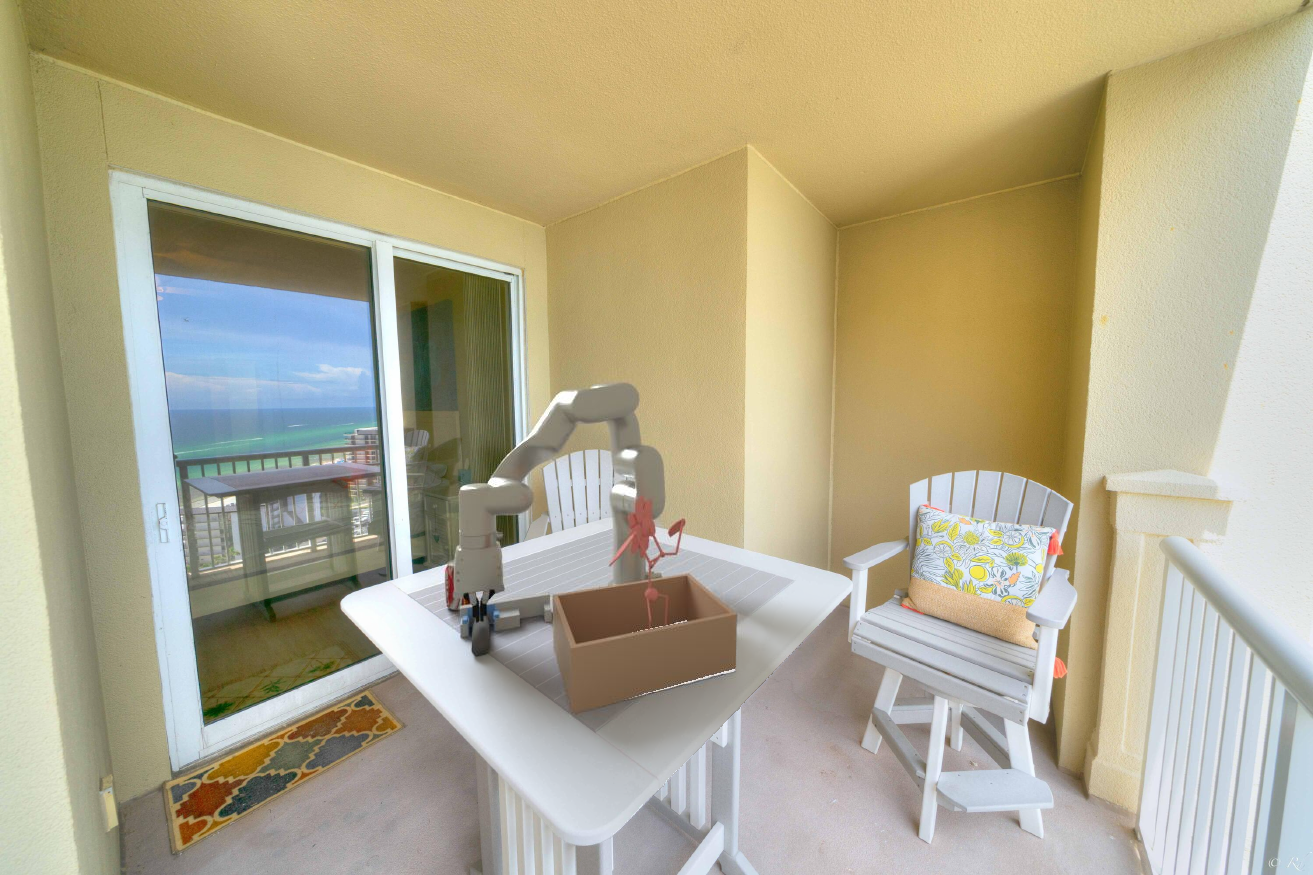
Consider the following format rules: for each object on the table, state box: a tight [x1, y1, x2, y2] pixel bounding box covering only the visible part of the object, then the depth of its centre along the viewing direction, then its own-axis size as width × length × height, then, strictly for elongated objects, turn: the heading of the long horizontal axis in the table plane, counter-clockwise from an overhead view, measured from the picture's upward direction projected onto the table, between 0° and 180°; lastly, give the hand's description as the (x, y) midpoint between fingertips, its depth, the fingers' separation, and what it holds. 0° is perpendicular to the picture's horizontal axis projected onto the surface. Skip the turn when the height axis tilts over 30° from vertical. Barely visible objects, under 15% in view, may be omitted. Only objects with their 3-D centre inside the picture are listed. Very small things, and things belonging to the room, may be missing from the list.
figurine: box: [608, 495, 687, 629], centre depth 90 cm, size 15×26×35 cm, turn 156°
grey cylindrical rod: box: [470, 616, 491, 657], centre depth 98 cm, size 12×4×4 cm, turn 21°
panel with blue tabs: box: [459, 592, 553, 638], centre depth 105 cm, size 21×6×5 cm, turn 112°
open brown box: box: [552, 573, 738, 715], centre depth 91 cm, size 33×22×12 cm, turn 112°
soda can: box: [444, 558, 471, 611], centre depth 114 cm, size 7×7×12 cm
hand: (479, 619), depth 97 cm, fingers closed
